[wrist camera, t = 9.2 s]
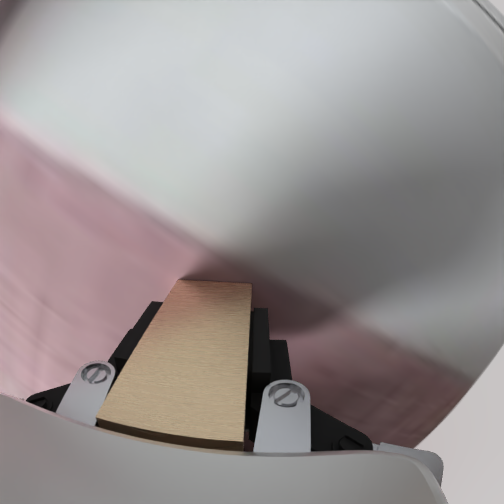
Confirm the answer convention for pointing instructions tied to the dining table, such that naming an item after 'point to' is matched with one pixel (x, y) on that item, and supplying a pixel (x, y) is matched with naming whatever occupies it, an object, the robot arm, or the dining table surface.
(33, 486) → the robot arm
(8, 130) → the dining table surface
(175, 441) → the wood and grey bar
